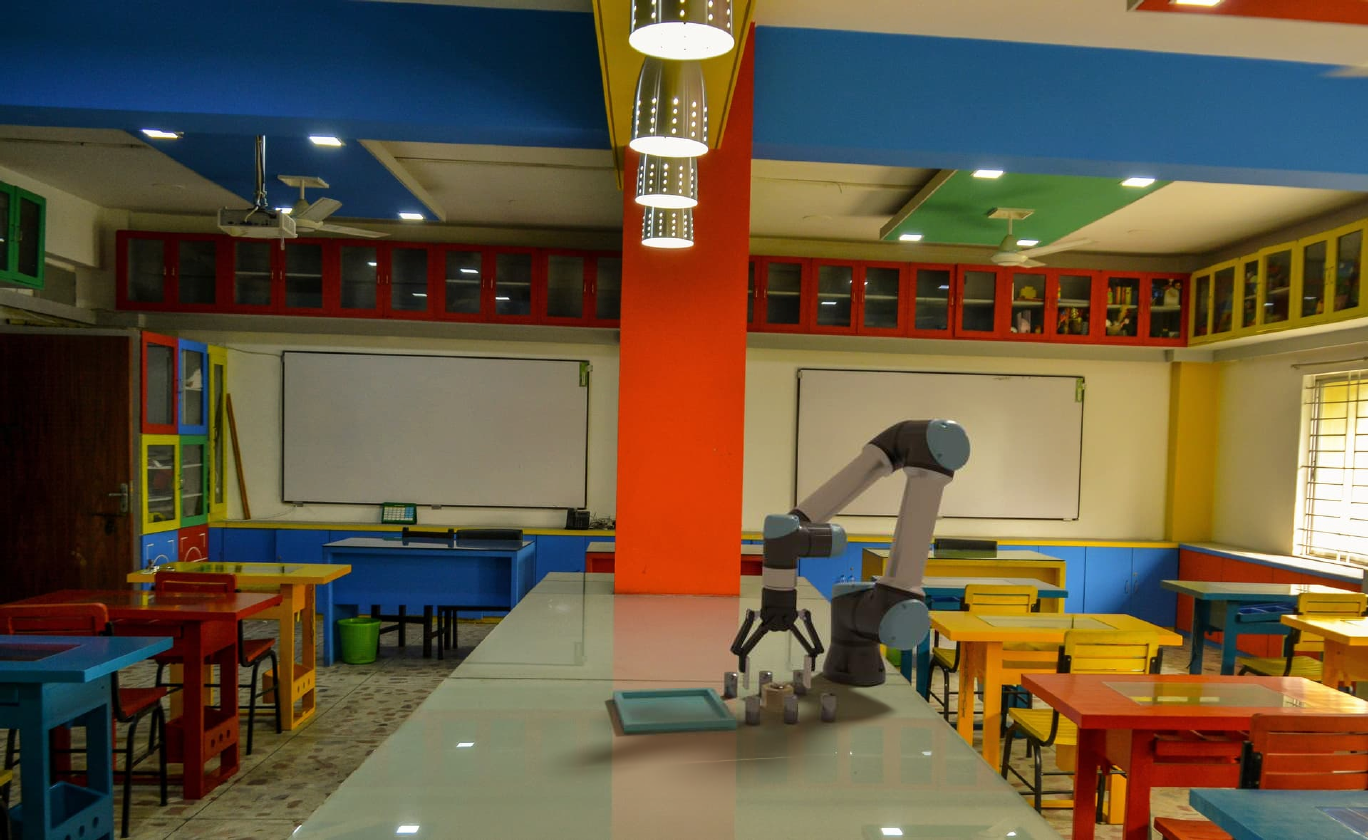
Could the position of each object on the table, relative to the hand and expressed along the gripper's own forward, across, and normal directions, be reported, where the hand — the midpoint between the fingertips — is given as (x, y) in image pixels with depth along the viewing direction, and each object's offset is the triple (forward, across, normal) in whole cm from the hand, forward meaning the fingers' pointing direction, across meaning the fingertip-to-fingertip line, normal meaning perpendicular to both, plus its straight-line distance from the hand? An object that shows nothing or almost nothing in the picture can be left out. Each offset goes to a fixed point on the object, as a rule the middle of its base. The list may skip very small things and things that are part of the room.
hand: (776, 687), depth 178 cm
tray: (+5, +23, +1) cm, 23 cm away
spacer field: (+4, 0, 0) cm, 4 cm away
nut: (+4, 0, 0) cm, 4 cm away
